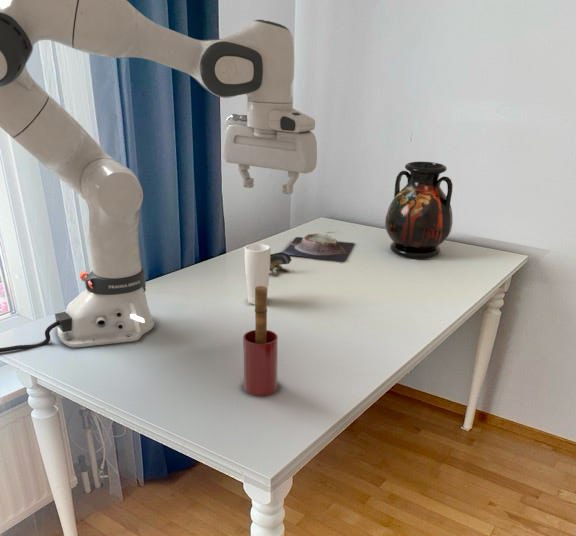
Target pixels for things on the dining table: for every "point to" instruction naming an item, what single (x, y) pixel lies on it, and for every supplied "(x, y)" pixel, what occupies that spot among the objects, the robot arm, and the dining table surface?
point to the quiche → (319, 247)
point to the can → (260, 364)
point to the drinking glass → (256, 268)
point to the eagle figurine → (279, 261)
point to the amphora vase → (420, 212)
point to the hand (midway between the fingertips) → (267, 190)
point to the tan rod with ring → (260, 315)
